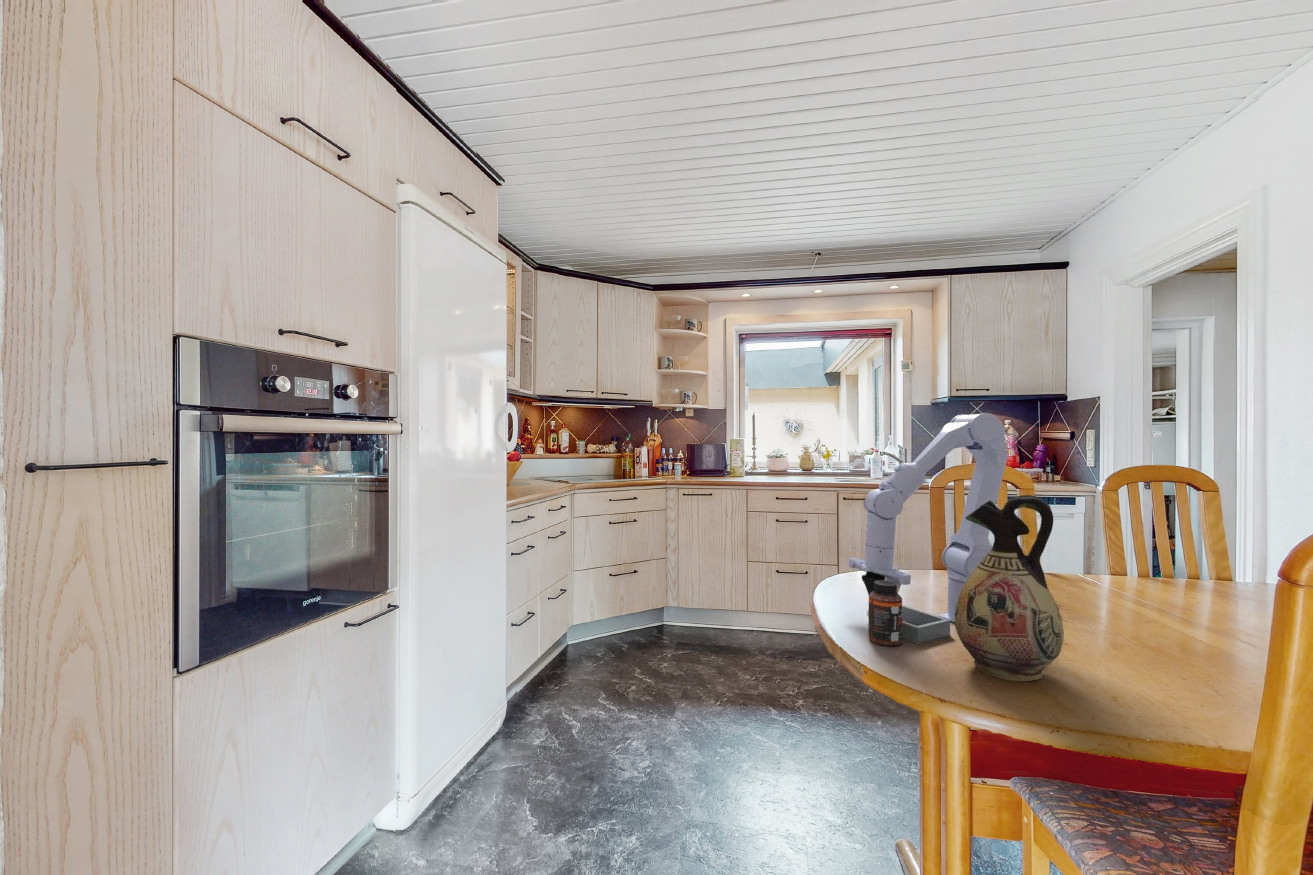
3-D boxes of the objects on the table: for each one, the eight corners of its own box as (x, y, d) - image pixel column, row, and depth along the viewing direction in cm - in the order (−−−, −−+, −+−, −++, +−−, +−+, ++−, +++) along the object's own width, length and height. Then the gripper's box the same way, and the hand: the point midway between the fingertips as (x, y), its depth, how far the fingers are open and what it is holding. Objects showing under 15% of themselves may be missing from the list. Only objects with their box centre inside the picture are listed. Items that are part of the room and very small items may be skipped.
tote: (903, 619, 118) (903, 605, 118) (950, 635, 109) (950, 620, 109) (872, 626, 114) (872, 611, 114) (918, 643, 104) (918, 628, 104)
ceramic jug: (944, 673, 92) (945, 493, 91) (964, 646, 103) (965, 486, 103) (1072, 706, 81) (1074, 502, 80) (1078, 671, 93) (1080, 493, 92)
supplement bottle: (905, 648, 102) (905, 587, 102) (871, 645, 103) (871, 585, 103) (898, 636, 108) (898, 579, 108) (865, 634, 109) (866, 577, 109)
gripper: (840, 539, 122) (836, 600, 122) (895, 554, 109) (891, 622, 109) (862, 538, 125) (859, 597, 126) (919, 552, 112) (914, 618, 113)
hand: (875, 609), depth 118 cm, fingers closed, pressing on pepper shaker
